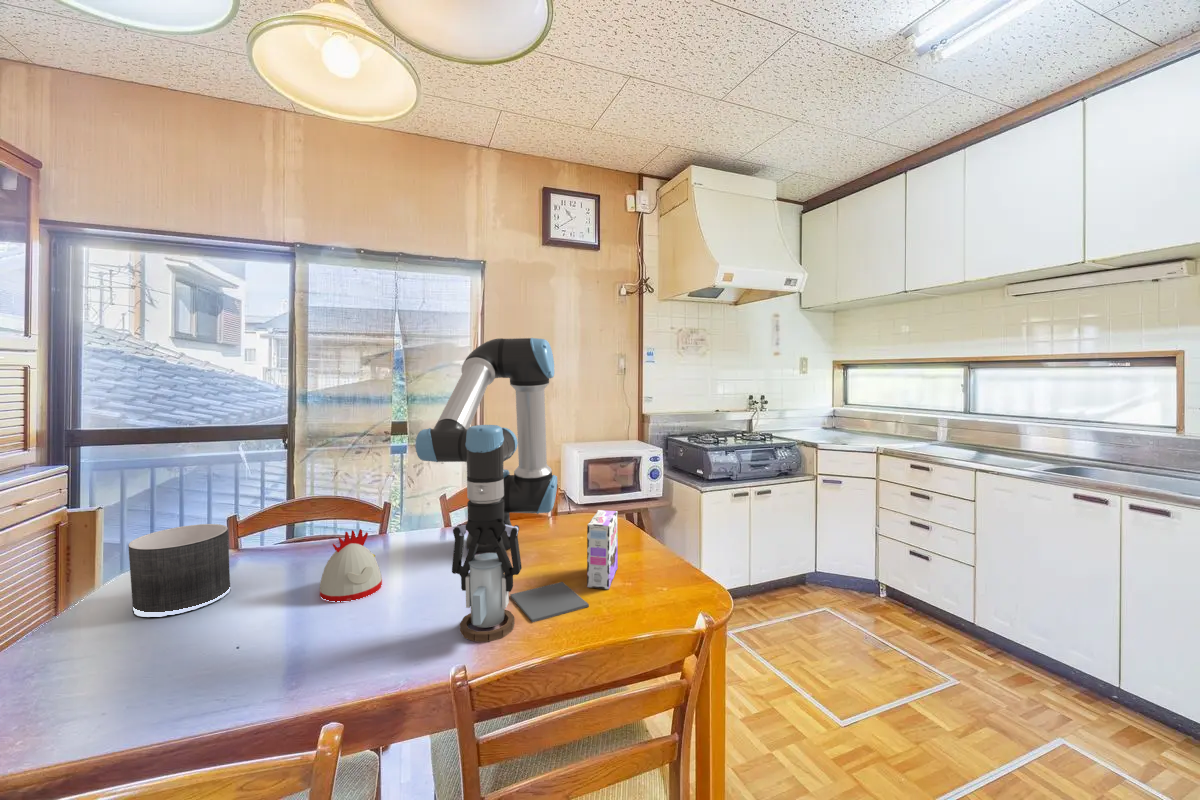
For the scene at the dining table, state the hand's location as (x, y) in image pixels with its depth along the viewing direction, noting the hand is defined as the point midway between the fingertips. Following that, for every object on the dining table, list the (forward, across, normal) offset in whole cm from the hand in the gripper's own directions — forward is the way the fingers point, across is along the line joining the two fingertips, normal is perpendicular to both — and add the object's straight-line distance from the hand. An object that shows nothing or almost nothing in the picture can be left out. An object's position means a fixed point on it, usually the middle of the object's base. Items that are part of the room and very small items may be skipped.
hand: (487, 604), depth 103 cm
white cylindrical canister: (+3, 0, -2) cm, 4 cm away
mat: (+5, +11, +12) cm, 17 cm away
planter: (+5, -76, +9) cm, 77 cm away
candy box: (+5, +24, +26) cm, 35 cm away
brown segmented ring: (+5, 0, 0) cm, 5 cm away
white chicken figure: (+5, -39, +16) cm, 43 cm away
